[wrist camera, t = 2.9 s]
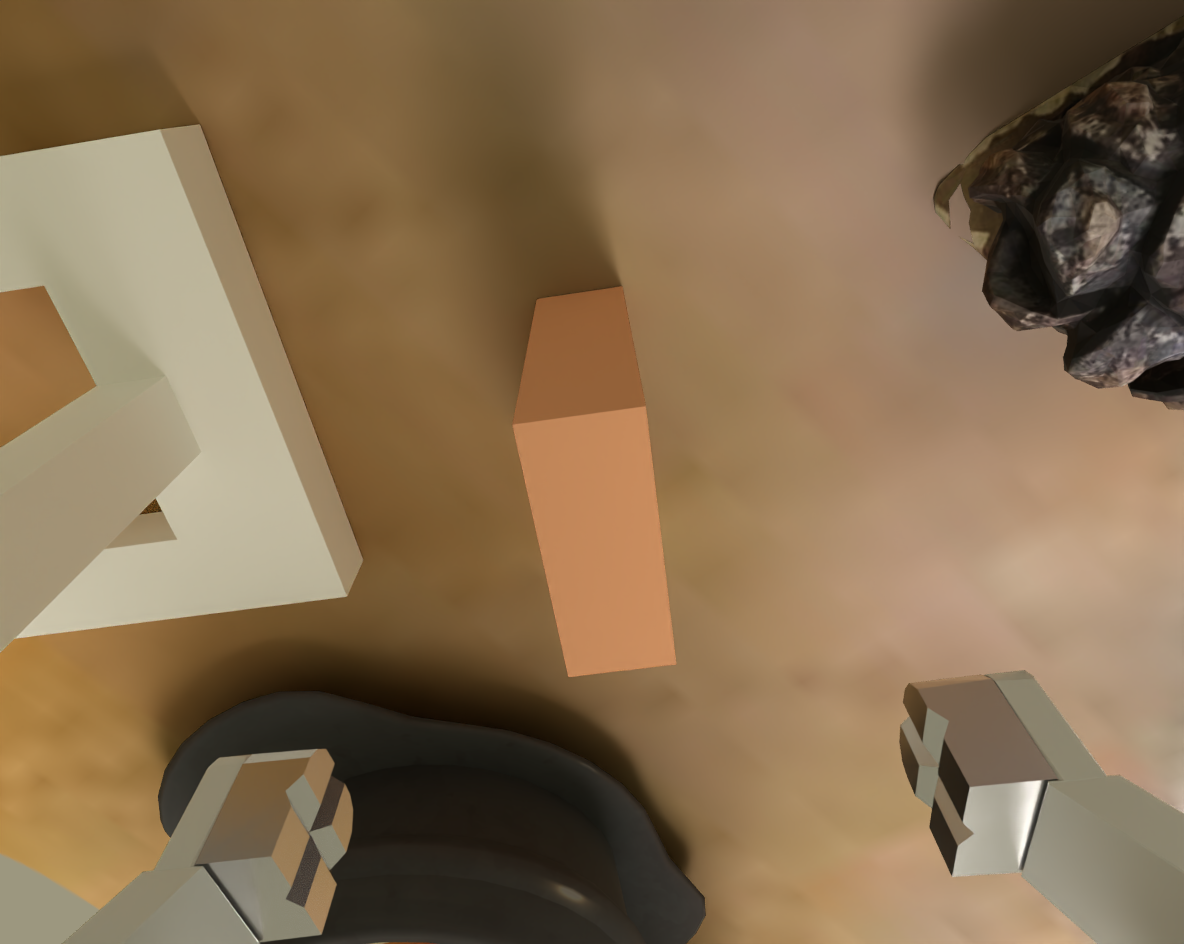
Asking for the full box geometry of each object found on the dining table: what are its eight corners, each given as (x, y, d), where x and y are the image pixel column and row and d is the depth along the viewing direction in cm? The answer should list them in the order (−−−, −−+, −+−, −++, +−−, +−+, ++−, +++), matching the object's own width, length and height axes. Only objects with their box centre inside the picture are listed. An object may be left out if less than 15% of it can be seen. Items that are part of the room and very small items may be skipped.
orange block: (646, 479, 24) (676, 664, 16) (572, 489, 24) (568, 677, 16) (622, 286, 20) (645, 406, 13) (536, 298, 21) (512, 424, 13)
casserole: (788, 842, 34) (846, 1057, 26) (538, 997, 40) (529, 1203, 33) (327, 563, 25) (223, 762, 18) (108, 816, 32) (-33, 1038, 25)
